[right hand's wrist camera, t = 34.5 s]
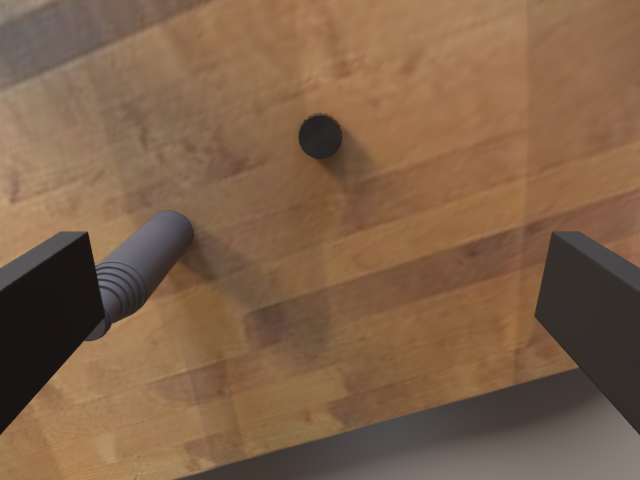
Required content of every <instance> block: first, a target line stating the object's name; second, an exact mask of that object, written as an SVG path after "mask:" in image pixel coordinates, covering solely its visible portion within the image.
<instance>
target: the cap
mask: <svg viewBox="0 0 640 480" xmlns="http://www.w3.org/2000/svg"><path fill="white" fill-rule="evenodd" d="M341 133H342V132H341V130H340V126H339V125H338V123H337V121H336V120H335V119H334V118H332V116H329V115H327V114H321V113H319V114H314V115H311V116H309V117H308V118H307V119H306V120H304V122H303V124H301V128H300V130H299V137H298V138H299V142H300V145H301V147H302V149H303V150H304V152H305V153H306V154H308V155H309V156H311V157H314V158H319V159H321V158H327V157H329V156H331V155H333V154H334V153H335V152H336V151H337V150H338V148H339V146H340V144H341V139H342V136H341Z"/></svg>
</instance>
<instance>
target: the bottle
mask: <svg viewBox="0 0 640 480" xmlns="http://www.w3.org/2000/svg"><path fill="white" fill-rule="evenodd" d="M192 239H193V228H192V226H191V224H190V222H189V221H188V219H187V218H186V217H185V216H183V215H182V214H180V213H178V212H175V211H162V212H160V213H158V214H156V215H155V216H154V217H152V218H151V219H150V220H149V221H148V222H147V223H145V224H144V225H143V226H142V227H141V228H140V229H138V230H137V231H136V232H135V233H134V234H133V235H131V236H130V237H129V238H128V239H127V240H125V241H124V242H123V243H122V244H121V245H120V246H118V247H117V248H116V249H115V250H114V251H113V252H111V253H110V254H109V255H108V256H107V257H106V258H104V259H103V260H102V261H101V262H100V263H98V264H97V265H96V266H95V268H96V273H97V278H98V283H99V287H100V292H101V297H102V302H103V306H104V311H105V318H104V319H103V320H102V321H101V322H100V323H99V324H98V325H97V327H96V328H95V329H94V330H93V331H92V332H91V333H90V334H89V336H88V337H87V338H86V339H85V340H84V341H93V340H96V339H99V338H101V337H103V336H104V335H105V334H106V333H107V331H108V330H109V329H110V327H111V325H112V323H115V322H117V321H119V320H121V319H123V318H125V317H127V316H130V315H132V314H134V313H135V312H136V311H137V310H139V309H140V308H141V307H142V306H143V305H144V304H145V302H146V301H147V300H148V298H149V297H150V296H151V295H152V293H153V292H154V291H155V289H156V288H157V287H158V285H159V284H160V283H161V282H162V280H163V279H164V278H165V276H166V275H167V274H168V272H169V271H170V270H171V268H172V267H173V266H174V265H175V263H176V262H177V261H178V259H179V258H180V257H181V255H182V254H183V253H184V252H185V250H186V249H187V248H188V246H189V245H190V244H191V242H192Z"/></svg>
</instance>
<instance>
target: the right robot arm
mask: <svg viewBox="0 0 640 480" xmlns="http://www.w3.org/2000/svg"><path fill="white" fill-rule="evenodd" d="M104 318H105V311H104V306H103V302H102V297H101V292H100V287H99V283H98V278H97V273H96V268H95V263H94V259H93V254H92V249H91V244H90V240H89V235H88V232H59V233H58V234H56V235H54V236H53V237H51V238H49V239H48V240H46V241H44V242H43V243H41V244H40V245H38V246H36V247H35V248H33V249H31V250H30V251H28V252H26V253H25V254H23V255H21V256H20V257H18V258H16V259H15V260H13V261H11V262H10V263H8V264H6V265H5V266H3V267H2V268H0V435H1V434H2V432H3V431H4V430H5V429H6V428H7V427H8V426H9V425H10V423H11V422H12V421H13V420H14V419H15V418H16V417H17V416H18V414H19V413H20V412H21V411H22V410H23V409H24V408H25V406H26V405H27V404H28V403H29V402H30V401H31V400H32V399H33V397H34V396H35V395H36V394H37V393H38V392H39V391H40V390H41V388H42V387H43V386H44V385H45V384H46V383H47V382H48V381H49V379H50V378H51V377H52V376H53V375H54V374H55V373H56V372H57V370H58V369H59V368H60V367H61V366H62V365H63V364H64V363H65V361H66V360H67V359H68V358H69V357H70V356H71V355H72V354H73V352H74V351H75V350H76V349H77V348H78V347H79V346H80V345H81V343H82V342H83V341H84V340H85V339H86V338H87V337H88V336H89V334H90V333H91V332H92V331H93V330H94V329H95V328H96V327H97V325H98V324H99V323H100V322H101V321H102V320H103V319H104ZM535 318H536V319H537V320H538V321H539V322H540V323H541V324H542V325H543V327H544V328H545V329H546V330H547V331H548V332H549V333H550V334H551V336H552V337H553V338H554V339H555V340H556V341H557V342H558V343H559V345H560V346H561V347H562V348H563V349H564V350H565V351H566V352H567V354H568V355H569V356H570V357H571V358H572V359H573V360H574V361H575V363H576V364H577V365H578V366H579V367H580V368H581V369H582V370H583V372H584V373H585V374H586V375H587V376H588V377H589V378H590V379H591V381H592V382H593V383H594V384H595V385H596V386H597V387H598V388H599V390H600V391H601V392H602V393H603V394H604V395H605V396H606V397H607V399H608V400H609V401H610V402H611V403H612V404H613V405H614V406H615V408H616V409H617V410H618V411H619V412H620V413H621V414H622V415H623V417H624V418H625V419H626V420H627V421H628V422H629V423H630V425H631V426H632V427H633V428H634V429H635V430H636V431H637V432H638V434H639V435H640V268H638V267H637V266H635V265H634V264H632V263H630V262H629V261H627V260H625V259H624V258H622V257H620V256H619V255H617V254H615V253H614V252H612V251H610V250H609V249H607V248H605V247H604V246H602V245H600V244H599V243H597V242H596V241H594V240H592V239H591V238H589V237H587V236H586V235H584V234H582V233H581V232H552V235H551V240H550V244H549V249H548V254H547V259H546V263H545V268H544V273H543V278H542V283H541V287H540V292H539V297H538V302H537V306H536V311H535Z"/></svg>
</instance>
